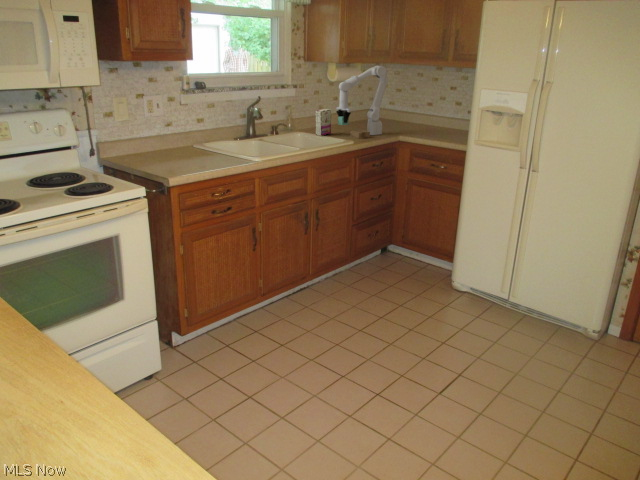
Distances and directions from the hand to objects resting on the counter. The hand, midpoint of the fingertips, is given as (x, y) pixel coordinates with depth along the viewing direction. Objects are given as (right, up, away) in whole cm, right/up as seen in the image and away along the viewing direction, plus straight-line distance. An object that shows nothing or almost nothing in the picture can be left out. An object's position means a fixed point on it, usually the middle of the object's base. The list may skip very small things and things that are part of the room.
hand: (343, 122), depth 354 cm
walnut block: (+11, -11, -5) cm, 16 cm away
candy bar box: (-13, -8, +3) cm, 16 cm away
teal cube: (0, -1, +1) cm, 2 cm away
